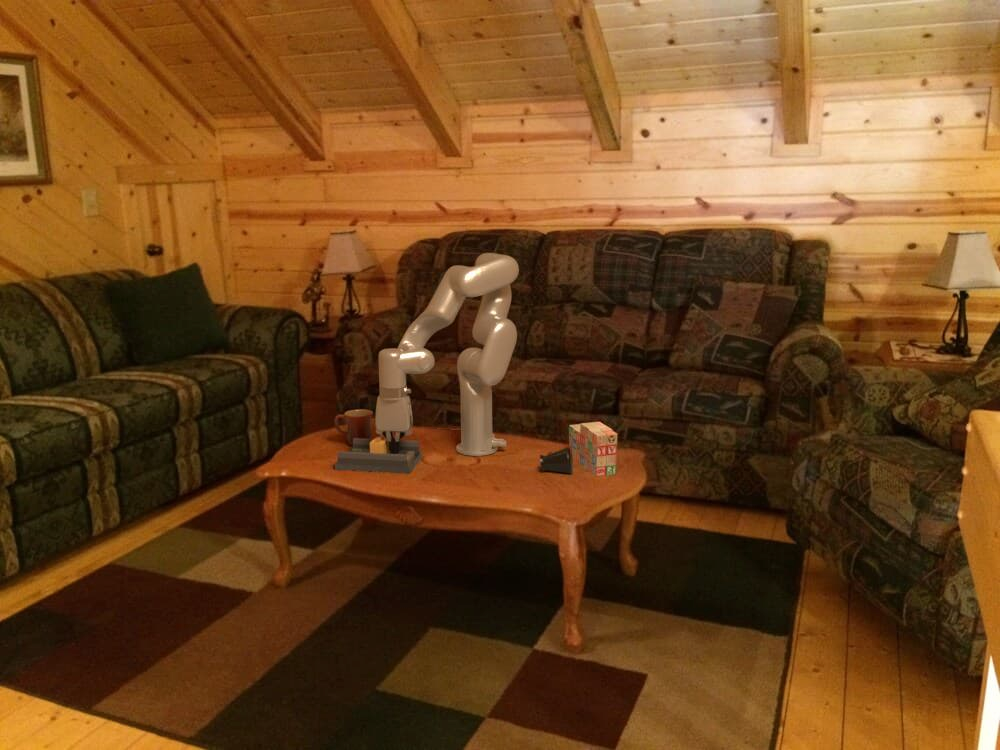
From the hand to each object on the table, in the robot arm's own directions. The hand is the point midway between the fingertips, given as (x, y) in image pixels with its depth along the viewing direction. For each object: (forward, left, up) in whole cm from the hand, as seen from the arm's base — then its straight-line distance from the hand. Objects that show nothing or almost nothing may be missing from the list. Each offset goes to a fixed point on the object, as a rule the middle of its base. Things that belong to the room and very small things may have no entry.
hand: (394, 453), depth 246 cm
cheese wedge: (+4, 0, -1) cm, 5 cm away
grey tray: (+5, 0, -1) cm, 5 cm away
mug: (+18, -17, -4) cm, 25 cm away
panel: (+5, 0, -4) cm, 6 cm away
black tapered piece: (-47, -7, -4) cm, 47 cm away
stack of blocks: (-56, -10, -4) cm, 57 cm away
